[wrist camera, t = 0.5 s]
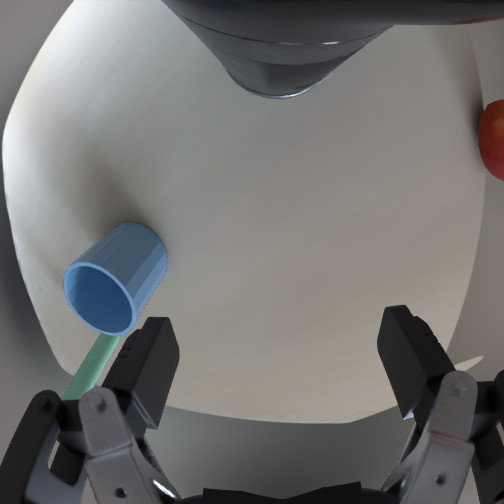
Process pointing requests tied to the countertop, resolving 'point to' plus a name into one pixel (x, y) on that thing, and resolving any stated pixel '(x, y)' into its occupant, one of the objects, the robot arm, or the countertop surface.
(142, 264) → the cup
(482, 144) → the tomato
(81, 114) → the countertop surface
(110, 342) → the mint green tapered cylinder
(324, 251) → the countertop surface
